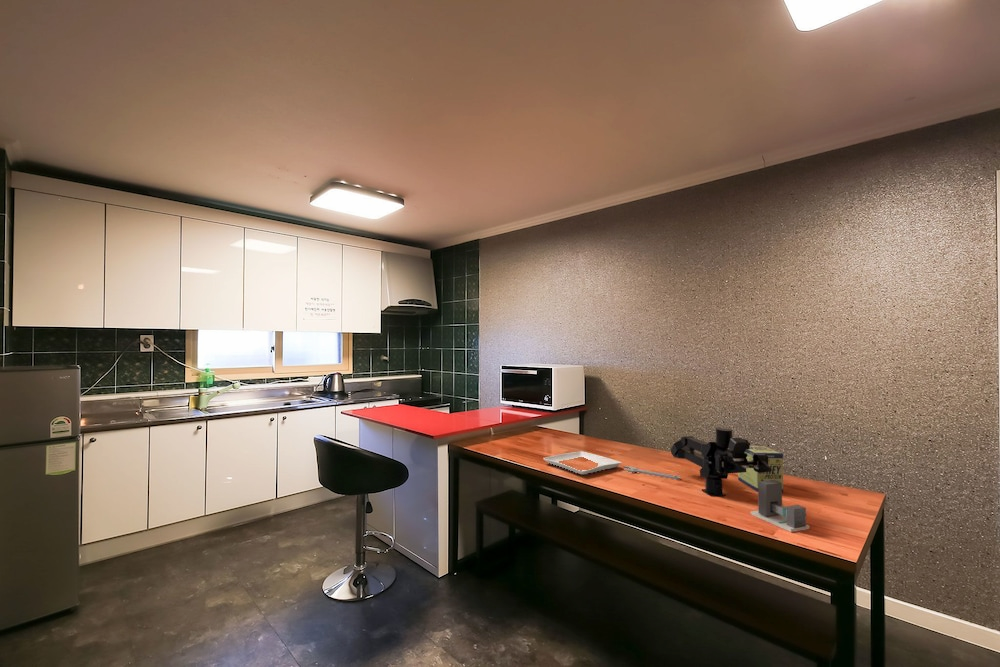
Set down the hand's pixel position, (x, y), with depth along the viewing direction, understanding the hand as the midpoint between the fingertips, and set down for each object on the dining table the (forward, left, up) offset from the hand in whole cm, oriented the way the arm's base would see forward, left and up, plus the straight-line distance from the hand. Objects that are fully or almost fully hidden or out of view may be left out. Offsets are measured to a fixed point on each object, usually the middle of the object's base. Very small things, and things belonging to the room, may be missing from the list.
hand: (758, 470), depth 141 cm
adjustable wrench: (-50, -15, -17) cm, 55 cm away
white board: (+2, +6, -17) cm, 18 cm away
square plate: (-65, -42, -17) cm, 80 cm away
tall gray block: (-1, +5, -15) cm, 16 cm away
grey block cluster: (+2, +6, -16) cm, 17 cm away
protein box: (-32, +25, -17) cm, 44 cm away
